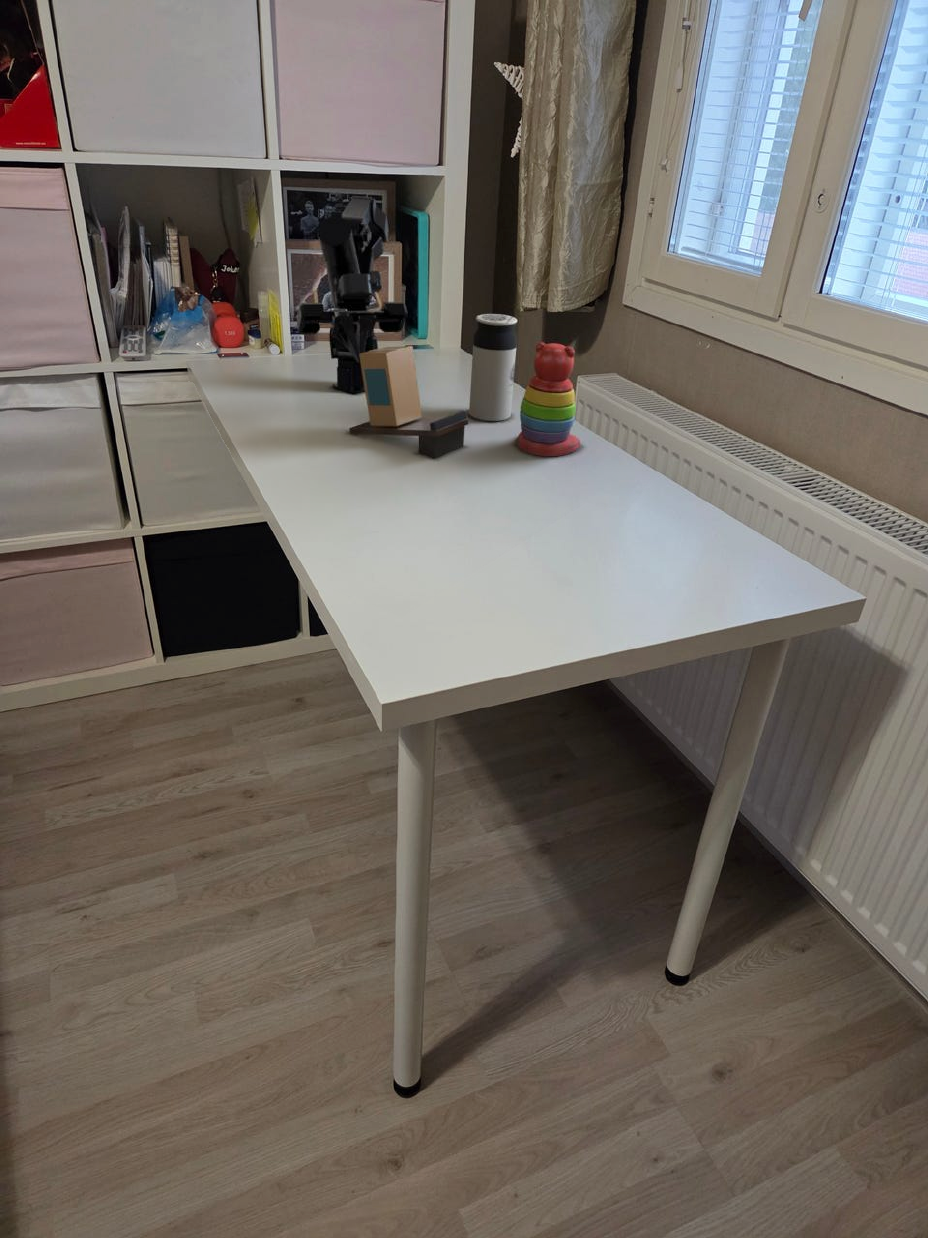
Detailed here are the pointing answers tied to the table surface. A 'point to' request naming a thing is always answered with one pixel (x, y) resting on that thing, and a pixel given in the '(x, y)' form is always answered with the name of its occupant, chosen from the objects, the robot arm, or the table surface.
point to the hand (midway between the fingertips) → (360, 361)
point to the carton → (391, 386)
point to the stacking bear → (549, 404)
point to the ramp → (425, 433)
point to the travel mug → (493, 367)
